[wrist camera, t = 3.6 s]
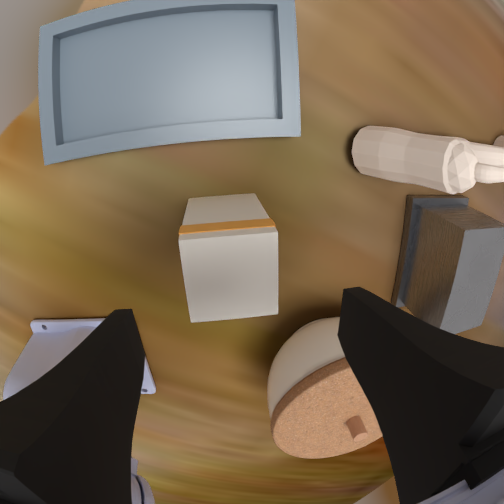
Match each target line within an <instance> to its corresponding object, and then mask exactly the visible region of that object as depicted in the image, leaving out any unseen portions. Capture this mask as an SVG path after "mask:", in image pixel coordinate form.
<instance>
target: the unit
mask: <svg viewBox="0 0 504 504" xmlns="http://www.w3.org/2000/svg"><path fill="white" fill-rule="evenodd" d="M468 200H469V198H467V197H465V196H463V195H407V202H406V211H405V220H404V228H403V236H402V243H401V250H400V256H399V262H398V268H397V274H396V280H395V285H394V290H393V295H392V300H391V303H392V305H394V306H396V307H403V306H406V307H407V308H408V309H409V310H410V311H411V313H412V314H413V315H414V316H415V317H416V318H418V319H420V320H422V321H424V322H427V323H429V324H431V325H433V326H435V327H437V328H440V329H442V330H445V331H447V332H450V333H452V334H456V333H459V332H462V331H465V330H468V329H471V328H474V327H477V326H480V325H481V324H482V321H483V319H484V316H485V313H486V310H487V308H488V305H489V302H490V299H491V296H492V293H493V289H494V286H495V283H496V280H497V276H498V273H499V269H500V266H501V262H502V258H503V254H504V224H503V223H501V222H499V221H497V220H496V219H494V218H492V217H490V216H488V215H486V214H484V213H481V212H479V211H477V210H475V209H473V208H471V207H469V206H468Z"/></svg>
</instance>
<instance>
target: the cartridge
mask: <svg viewBox="0 0 504 504" xmlns="http://www.w3.org/2000/svg"><path fill="white" fill-rule="evenodd" d="M178 241H179V249H180V256H181V263H182V270H183V277H184V283H185V290H186V296H187V302H188V308H189V314H190V320H191V323H192V322H205V321H217V320H228V319H238V318H248V317H257V316H267V315H275V314H278V231H277V229H276V225H275V223H274V221H273V220H272V218H269V216H268V215H267V213H266V211H265V210H264V208H263V206H262V205H261V203H260V201H259V200H258V198H257V196H256V195H255V193H249V194H235V195H222V196H210V197H198V198H189V199H188V203H187V207H186V211H185V215H184V219H183V223H182V226H180V229H179V240H178Z"/></svg>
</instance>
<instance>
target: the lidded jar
mask: <svg viewBox="0 0 504 504" xmlns="http://www.w3.org/2000/svg"><path fill="white" fill-rule="evenodd" d="M339 321H340V317H333V318H323V319H318V320H315V321H312V322H310V323H308V324H306V325H304V326H302V327H301V328H300V329H298V330H297V331H296V332H295V333H294V334H293V335H292V336H291V337H290V338H289V339H288V340H287V341H286V342H285V343H284V344H283V345H282V347H281V348H280V350H279V351H278V353H277V355H276V356H275V358H274V361H273V363H272V365H271V369H270V372H269V376H268V386H267V399H268V409H269V414H270V419H271V432H272V436H273V439H274V442H275V443H276V445H277V446H278V447H279V448H280V449H281V450H282V451H284V452H286V453H288V454H290V455H293V456H296V457H301V458H326V457H332V456H337V455H341V454H345V453H348V452H351V451H354V450H356V449H359V448H361V447H363V446H365V445H367V444H369V443H371V442H373V441H375V440H377V439H378V438H380V437H382V436H383V435H382V432H381V430H380V427H379V424H378V421H377V419H376V416H375V414H374V411H373V409H372V407H371V405H370V403H369V401H368V399H367V397H366V395H365V394H364V392H363V390H362V388H361V386H360V384H359V382H358V380H357V379H356V377H355V375H354V373H353V371H352V369H351V367H350V365H349V364H348V362H347V360H346V358H345V355H344V352H343V350H342V347H341V344H340V341H339V338H338V336H337V334H338V328H339Z"/></svg>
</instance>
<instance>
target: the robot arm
mask: <svg viewBox="0 0 504 504" xmlns="http://www.w3.org/2000/svg"><path fill="white" fill-rule="evenodd" d="M44 325H45V326H46V327H45V326H44ZM30 326H31V329H32V331H33V335H32V336H31V338H30V339H29V341H28V343H27V344H26V346H25V348H24V349H23V351H22V352H21V354H20V356H19V358H18V359H17V361H16V363H15V364H14V366H13V368H12V370H11V371H10V373H9V375H8V377H7V379H6V382H5V385H4V391H3V401H1V402H0V504H155V501H154V497H153V494H152V491H151V488H150V485H149V484H148V482H147V481H146V479H145V478H143V477H142V476H140V475H137V465H138V460H136V459H134V458H132V457H131V450H132V438H133V430H134V425H135V420H136V414H137V409H138V404H139V399H140V394H153V393H155V392H156V386H155V383H154V380H153V377H152V374H151V371H150V368H149V365H148V362H147V359H146V356H145V352H144V349H143V346H142V343H141V339H140V336H139V332H138V329H137V326H136V322H135V318H134V315H133V311H132V309H118V310H114V311H113V312H112V313H111V314H110V315H109V316H108V317H107V318H98V319H61V320H33V321H32V322H31V323H30ZM337 336H338V338H339V341H340V344H341V347H342V350H343V352H344V355H345V358H346V360H347V362H348V364H349V365H350V367H351V369H352V371H353V373H354V375H355V377H356V379H357V380H358V382H359V384H360V386H361V388H362V390H363V392H364V394H365V395H366V397H367V399H368V401H369V403H370V405H371V407H372V409H373V411H374V414H375V416H376V419H377V421H378V424H379V427H380V430H381V432H382V435H383V438H384V441H385V445H386V448H387V451H388V454H389V457H390V461H391V465H392V469H393V473H394V476H395V481H396V486H397V491H398V496H399V501H400V504H504V348H503V347H498V346H493V345H488V344H484V343H480V342H477V341H474V340H470V339H467V338H464V337H461V336H458V335H455V334H452V333H450V332H447V331H445V330H442V329H440V328H437V327H435V326H433V325H431V324H429V323H427V322H424V321H422V320H420V319H418V318H416V317H414V316H413V315H411V314H409V313H407V312H405V311H403V310H401V309H400V308H398V307H396V306H394V305H392V304H391V303H389V302H387V301H385V300H384V299H382V298H380V297H378V296H376V295H375V294H373V293H371V292H369V291H367V290H365V289H363V288H361V287H354V288H347V289H343V298H342V306H341V313H340V321H339V328H338V334H337ZM143 388H144V389H143Z"/></svg>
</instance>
